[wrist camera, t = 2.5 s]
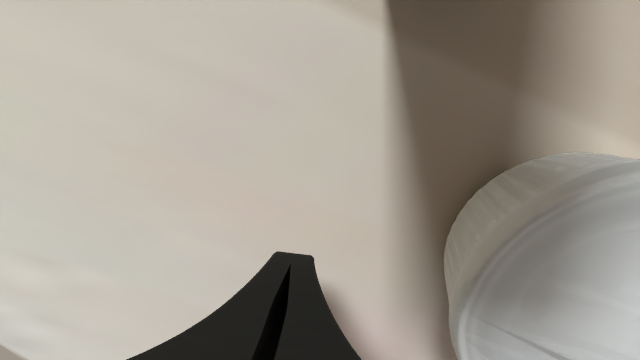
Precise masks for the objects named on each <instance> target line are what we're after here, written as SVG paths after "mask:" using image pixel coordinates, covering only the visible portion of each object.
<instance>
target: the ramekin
mask: <svg viewBox="0 0 640 360" xmlns="http://www.w3.org/2000/svg"><path fill="white" fill-rule="evenodd" d="M443 263H444V275H445V282H446V288H447V294H448V300H449V306H450V308H449V331H450V336H451V341H452V345H453V348H454V351H455V354H456V357H457V360H640V159H633V158H626V157H619V156H613V155H606V154H599V153H598V154H594V153H588V152H579V153H572V152H567V153H561V154H552V155H547V156H545V157H542V158H536V159H532V160H530V161H528V162H526V163H523V164H519V165H516V166H515V167H513V168H511V169H509V170H507V171H504V172H503V173H501V174H500V175H498V176H496V177H495V178H493V179H492V180H490V181H489V182H488V183H487V184H486V185H485V186H483V187H482V188H480V189H479V190H478V191H477V192H476V193H475V194H474V196H473V197H472V198H471V199H469V200H468V201H467V203H466V204H465V206H464V207H463V209H462V210H461V211H460V212H459V214H458V216H457V218H456V220H455V221H454V223H453V225H452V227H451V230H450V233H449V235H448V237H447V243H446V246H445V250H444V262H443Z"/></svg>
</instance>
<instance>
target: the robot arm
mask: <svg viewBox="0 0 640 360" xmlns="http://www.w3.org/2000/svg"><path fill="white" fill-rule="evenodd" d="M127 360H361V358H360V357H359V356H358V355H357V353H356V352H355V351H354V349H353V348H352V347H351V345H350V344H349V342H348V341H347V339H346V337H345V336H344V334H343V333H342V331H341V329H340V328H339V326H338V324H337V323H336V321H335V319H334V317H333V315H332V313H331V311H330V309H329V307H328V305H327V302H326V300H325V298H324V295H323V292H322V290H321V287H320V284H319V281H318V278H317V274H316V270H315V265H314V258H313V257H312V256H311V255H303V254H294V253H286V252H276V253H274V254H273V255H272V257H271V258H270V259H269V260H268V262H267V263H266V264H265V265H264V266H263V267H262V269H261V270H260V271H259V272H258V273H257V274H256V275H255V276H254V277H253V278H252V279H251V280H250V281H249V282H248V283H247V284H246V285H245V286H244V287H243V288H242V289H241V290H240V291H239V292H237V293H236V294H235V295H234V296H233V297H232V298H231V299H230V300H228V301H227V302H226V303H225V304H224V305H222V306H221V307H220V308H218V309H217V310H216V311H214V312H213V313H212V314H210V315H209V316H208V317H206V318H205V319H203V320H202V321H200V322H199V323H197V324H195V325H194V326H192V327H191V328H189V329H187V330H186V331H184V332H183V333H181V334H179V335H177V336H175V337H173V338H172V339H170V340H168V341H166V342H164V343H162V344H160V345H158V346H156V347H154V348H152V349H150V350H148V351H146V352H143V353H141V354H139V355H136V356H134V357H132V358H129V359H127Z"/></svg>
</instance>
